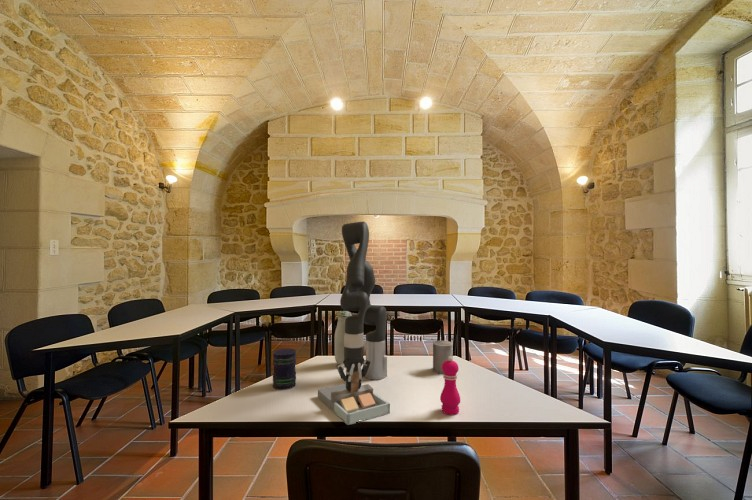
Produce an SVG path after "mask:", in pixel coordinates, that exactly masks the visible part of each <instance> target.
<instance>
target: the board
mask: <svg viewBox="0 0 752 500" xmlns="http://www.w3.org/2000/svg"><path fill="white" fill-rule="evenodd" d="M344 389H346V383H342V384H341V383H340V384H337V385H333V386H329V387H324V388H319V389H317V398H318V399H319V400H320V401H322V403H323V404H325V406H326V407H327V408H328V409H330V410H331V411H332V412H333V413H334V402H333V401H332V399H331V392H335V391H339V390H344ZM355 401H356V403H357V405H359V404H360V402H359V400H358V398H357V399H355ZM337 404H339V405H340V406H341V407H342V405H341V403H337ZM342 408H343V407H342Z"/></svg>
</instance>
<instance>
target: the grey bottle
mask: <svg viewBox="0 0 752 500" xmlns="http://www.w3.org/2000/svg"><path fill="white" fill-rule="evenodd" d="M349 316H353V314H352V313H351V311H350V310H340V312H338V314H337V323H336V324H337V325H336V328H335V332H334V361H335V362H336V364H337V365H341V364H342V363H343V361H344V336H345V319H346V318H347V317H349Z"/></svg>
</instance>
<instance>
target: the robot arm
mask: <svg viewBox="0 0 752 500" xmlns="http://www.w3.org/2000/svg"><path fill="white" fill-rule="evenodd" d="M369 229H370V228H369V226H368V224H367V222H365V221H354V222H348V223H344V224H343V225H342V226H341V236H342V239H343V243H344V246H345V248H346V252H347V255H348V258H349V261H348V264H347V267H346V276H345V277H346V280H345V286H344V289H343V292H342V294H341V297H340V300H339V303H340V304H339V305H340V307H341V308H342V310H343V311H358V313H356V314H352V316H349V317H347V318H346V319H345V336H344V361H343V363H342V364H341V365H339V364H337V365H336V369H337V372H338V373H339V376H340V379H341V380H342V381H343V382H345V384H346V389H347V390H348V391H351V376H352V375H353V372H354V371H358V372H359V386H358V389H360V387H361V386H362V379H363V378H364V377H365V378H367V379H368V380H374V381H375V380H382V379H385V378H386V377H388V356H387V355H386V334H387V315H388V314H387V309H386V307H385V306H384V305H374V304H373V305H372V304H371V298H370V297H371V294H372V292H373V289H374V288H375V284H376V277H375V272H374V268H373V266H372V265H371V263H370V262H368V260H367V252H368V248H369V243H370V242H369V240H370V230H369ZM356 245H358V247H356ZM354 290H356V291H354ZM364 324H365V325H369V326H375V330H373V331H369V332H367V333H366V334H365V336H364ZM364 355H365V358H364ZM344 371H345V372H344Z"/></svg>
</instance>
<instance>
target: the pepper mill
mask: <svg viewBox="0 0 752 500" xmlns="http://www.w3.org/2000/svg"><path fill="white" fill-rule="evenodd" d="M453 359H454V358H452V357H451V356H449V357H448V360H447V361H445V362H444V363H443V364H442V370H443V372H444V374H443V373H442V375H443V379H444V383H443V385H444V386H443V389H442V391H441V394H440V398H439V399H440V400H439V401H440V402H441V412H442V413H443V414H446V415H449V416H451V415H452V416H455V415H457V414H459V413H460V406H459V405H460V404H461V396H460V393H459V391H458V388H457V379H458V374H457V373H458V372H459V364H458V362H456V361H454V360H453ZM452 360H453V361H452Z"/></svg>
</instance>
